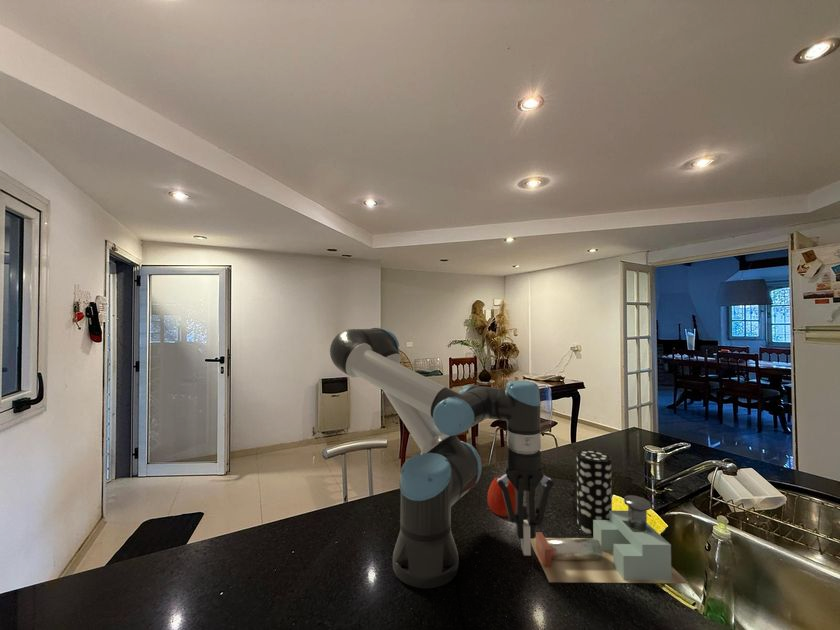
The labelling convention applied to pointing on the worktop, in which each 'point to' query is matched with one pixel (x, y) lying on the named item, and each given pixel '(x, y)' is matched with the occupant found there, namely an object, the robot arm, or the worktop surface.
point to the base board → (592, 570)
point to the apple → (500, 498)
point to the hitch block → (634, 548)
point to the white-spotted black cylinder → (593, 488)
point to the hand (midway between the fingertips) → (525, 551)
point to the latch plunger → (637, 512)
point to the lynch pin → (567, 549)
